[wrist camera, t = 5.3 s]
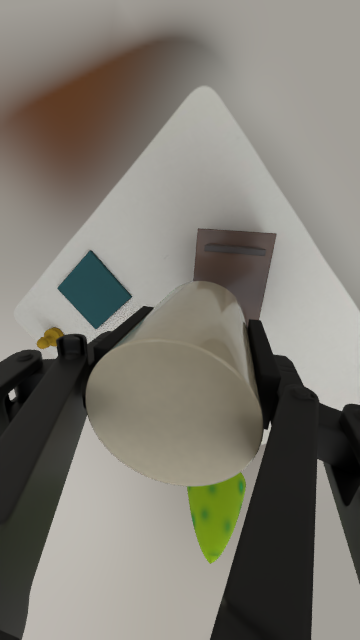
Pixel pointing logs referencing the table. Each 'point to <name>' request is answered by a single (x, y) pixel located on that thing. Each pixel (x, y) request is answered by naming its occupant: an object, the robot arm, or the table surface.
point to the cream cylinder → (181, 390)
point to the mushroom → (216, 513)
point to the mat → (94, 290)
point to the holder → (236, 264)
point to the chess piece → (49, 338)
